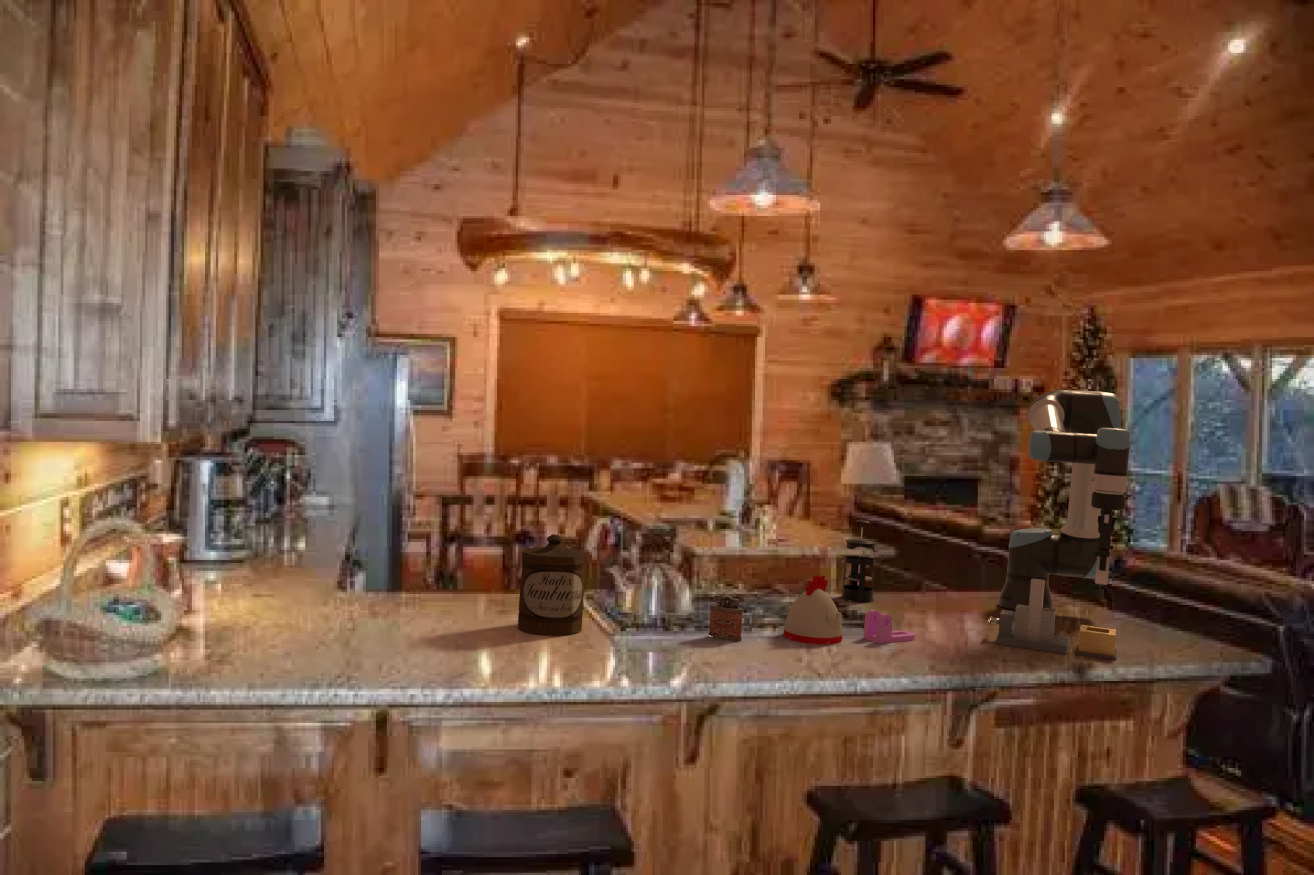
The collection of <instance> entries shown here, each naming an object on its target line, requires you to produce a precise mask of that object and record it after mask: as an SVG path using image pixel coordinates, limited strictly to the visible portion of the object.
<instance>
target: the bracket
mask: <svg viewBox="0 0 1314 875" xmlns="http://www.w3.org/2000/svg"><path fill="white" fill-rule="evenodd" d="M893 622H894V621H893V617H892V616H891V614H888V613H883V612H882V613H880V612H879V611H878V610H875V609H869V610H868V611H867V612H866V614H865V616H864V628H863V639H865V640H867V641H871V642H875V643H877V644H885V643H886V644H887V643H898V642H911V641H914V640H916V639H915V638H916V636H915V635H916V634H915V633H914V632H912V631H907V630H893Z"/></svg>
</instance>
